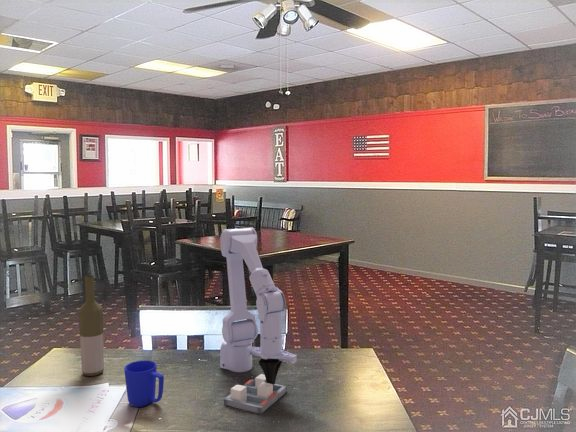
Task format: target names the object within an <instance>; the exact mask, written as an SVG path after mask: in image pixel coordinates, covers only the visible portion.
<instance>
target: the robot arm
mask: <svg viewBox="0 0 576 432" xmlns="http://www.w3.org/2000/svg"><path fill="white" fill-rule="evenodd" d="M219 238H220V239H219V240H220V241H219V243H220V252H221V256H223V257H224V258H226V269H227V280H228V293H229V302H230V310H229V312H228V313H227V314H226V315H225V316H224V317H223V318H222V328H221V333H222V338H223V342H222V343H221V346H220V350H219V363H220V364H219V365H220V366H219V367H220V368H221V369H224V370H229V371H231V372H233V373H246V372H249V371H250V370H252V369H253V356H255V357H260V360H258V365H259V366H260V368H261V369H262V372H263V374H264V375H265V377H266V381H267V383H270V384H273V385H274V384H276V380H277V376H278V372H279V370H280V367H281V365H282V363H283V362H286V363H289V364H290V365H294V364H296V363H297V360H298V359H297V356H298V355H297V354H294V353H292V352H288V351H286V350H283V349H282V337H283V335H282V312H284V311H285V310H286V306H287V305H286V297H285V295H284V292H283V291H282V290H280V289H279V287H276V285H275V282H274V281H273V279H272V276H271V274H270V272H269V270H268V269H266V268H264V267H263V265H262V261H261V259H260V256H259V252H258V249H257V246H258V233H257V231H256V229H255V228H254V227H245V228H244V227H243V228H242V227H241V228H228V229H227V228H224V229H223V230H222V232H221V233H220V237H219ZM244 263H245V264H246V266H247V268H248V270H249V272H250V275H249V279H248V280H249V281H250V285H251V286H252V289H253V291H254V293H255V295H256V301H255V305H256V310H257V316H258V320H259V322H260V323H259V324H260V325H259V326H260V327H258V324H257V319H256V315H255V314H254V313H252V312H251V311H249V310H248V306H247V305H248V304H247V294H246V281H245V271H244ZM259 330H260V332H259ZM259 333H260V335H259ZM258 335H259V336H260V337H259V338H260V339H259V340H260V346H253V343H254V342H255V339H256V338H257V337H258Z"/></svg>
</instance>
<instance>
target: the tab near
mask: <svg viewBox="0 0 576 432" xmlns="http://www.w3.org/2000/svg"><path fill="white" fill-rule="evenodd" d="M230 394H231V399H233V400H237V401H241V402H247V387H246V386H243V385H241V384H235V385H234V386H232V387H231V388H230Z"/></svg>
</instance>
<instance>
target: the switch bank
mask: <svg viewBox="0 0 576 432" xmlns="http://www.w3.org/2000/svg"><path fill="white" fill-rule="evenodd" d="M242 386H246V387H247V402H241V401H237V400H233V399H231V393H230V394H229V395H227V396H226V397H225V398H223V404H224V406H229V407H233V408H236V409H240V410H244V411H248V412H252V413H257V414H263V413H264V412H265V411H266V410H267V409H269V407H271V406H272V405H274V404H275V402H277V401H278V400H279V399H281V397H282V396H283V395H285V394H286V393H287V392H288V391H287V390H288V389H287V388H288V386H287V385H282V384H277V383H275V384H274V385H273V394H272V395H271V396H269V398H268V399H266V398H262V397H258V396H257V388H256V387H255V378H251V379H249V380H248V381H246V382H244V384H243V385H242Z"/></svg>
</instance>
